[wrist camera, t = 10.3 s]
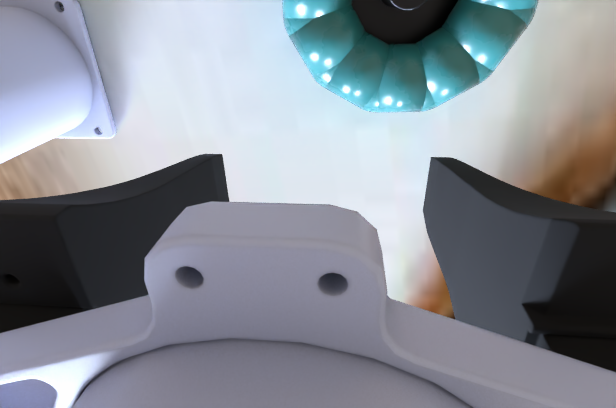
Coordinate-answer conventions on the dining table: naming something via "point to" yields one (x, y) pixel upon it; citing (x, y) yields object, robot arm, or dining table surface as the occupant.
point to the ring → (404, 52)
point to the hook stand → (402, 18)
